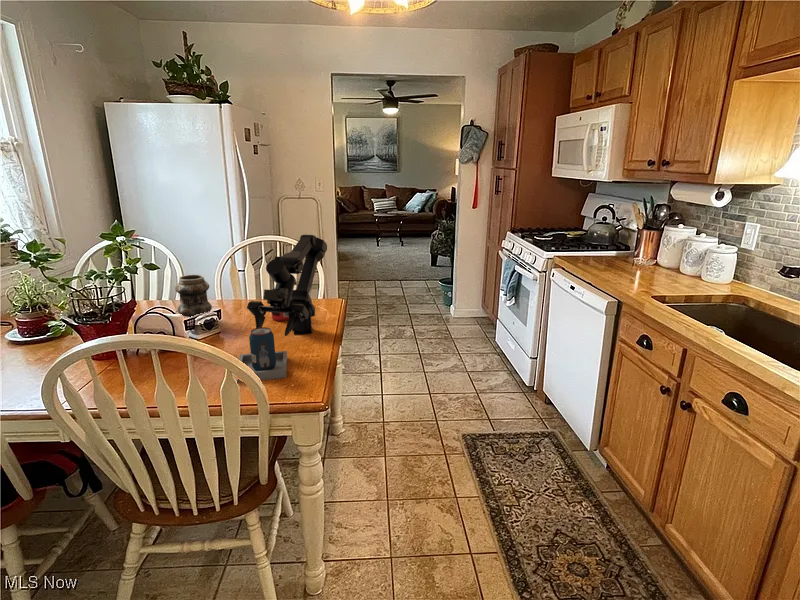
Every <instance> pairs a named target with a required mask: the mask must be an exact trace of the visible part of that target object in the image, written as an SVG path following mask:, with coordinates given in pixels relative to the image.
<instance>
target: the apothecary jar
mask: <svg viewBox="0 0 800 600" xmlns="http://www.w3.org/2000/svg"><path fill="white" fill-rule="evenodd" d="M209 288H210V284H209V282H208V281H206V280H205V277H204V276H203V275H202V274H186V275H185V274H184V275H181V276H179V278H178V282H177V284H176V285H175V287H174V290H175V292H176V293H178V295H179V302H180V304H179V305H178V306H177V312H178V313H179V314H180V315H181V314H182V315H181V316H183V317H187V318H190V317H191V316H194V315H196V314H200V313H204V312H208V311H210V312H211V310H212V308H213V306H212V303H211V302H209V301H208V294H207V293H208V290H209Z"/></svg>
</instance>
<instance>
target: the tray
mask: <svg viewBox="0 0 800 600" xmlns="http://www.w3.org/2000/svg"><path fill="white" fill-rule="evenodd" d="M275 356H276V365H275V367H274V368H273V369H272V370H264V371H255V369H254V368H253V367H252V361H251V353H241V354H239V357H238V361H239V360H240V361H242V362H243V363H245V364H246V365H247V366H249V367H250V368H251V369H252V370H253V371H254V373H255V374H256V375H257V376H258V377H259V378H260V379H261V380H260V381H267V380H268V381H269V380H277V379H279V380H280V379H287V374H288V373H287V371H288V370H287V369H288V351H287V350H282V351H281V350H279V351H275ZM237 381H238V382H237V383H242V382H241V381H240V380H239V379H238V380H237Z"/></svg>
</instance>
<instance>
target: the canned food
mask: <svg viewBox="0 0 800 600" xmlns="http://www.w3.org/2000/svg"><path fill="white" fill-rule="evenodd" d="M270 313H271V319H272V320H273V321H275V322H286V321H285V320H287V321H288V320H289V316H288V313H276V312H270Z"/></svg>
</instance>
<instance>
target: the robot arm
mask: <svg viewBox="0 0 800 600" xmlns="http://www.w3.org/2000/svg"><path fill="white" fill-rule="evenodd" d="M327 251H328V244H327V242H326V241H325V240H324V239H322V238H319V237H317V236H316V235H314V234H302V235H300V237H299V240H298V241H297V242H296V244H295V245H294V247H292V250H291V251H290V252H286V253H284V254H283V255H282V256H277V255H276V256H274V259H271V260H270V261H269V262H268V263H267V264H266V266H265V269H266V272H267V274H268V275H269V276H270V278H271V279H272V280H273V282H274V283H276V284H275V287H274V288H272V289H263V297H262V300H263V301H265V300H266V303H267V304H268V305H265V304H264V303H263V302H262V301H260V300H251V301H249V302H248V303H247V307H246V309H247V310H248V311H249V312H250V313H251V314H252V315H253V316H254V319H255V328H259V327H263V325H264V323H265V320H266V316H265V315H266V314H267V313H271V312H276V313H288V316H289V320H287V323H286V328H285V330H284V336H285V337H287V336H289V335H290V333H291V332H293V334H294V335H304V334H305V335H306V334H307V335H308V334H313V329H312V328H313V327H312V318H313V317H315V316H316V307H315V305H314V303H313V300H312V298H311V295H310V293H311V289H312V285H313V282H314V278H315V274H316V271H317V267H318V264H319V262H320V261H322V260H323V259H324V257H325V254H326V253H327ZM293 274H294V275H300V277H299V280H298V282H297V279H296V277H295V276H294V275H293ZM295 286H297V287H296V288H295ZM294 288H295V289H294Z"/></svg>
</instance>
